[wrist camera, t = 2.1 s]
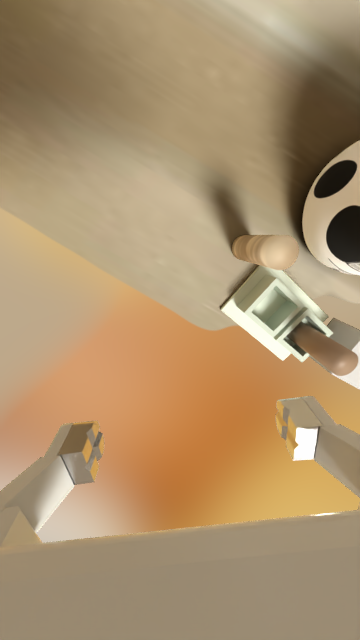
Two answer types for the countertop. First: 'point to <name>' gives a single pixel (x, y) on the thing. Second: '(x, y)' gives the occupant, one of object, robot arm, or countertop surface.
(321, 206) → the milk container
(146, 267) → the countertop surface
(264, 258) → the beech peg
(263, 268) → the pin board
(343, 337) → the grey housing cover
